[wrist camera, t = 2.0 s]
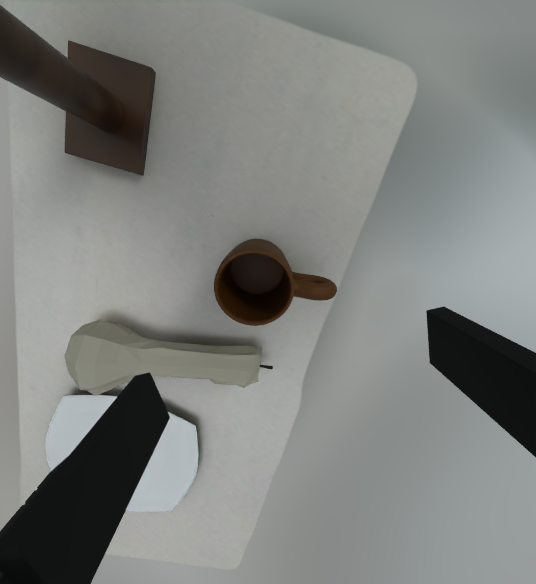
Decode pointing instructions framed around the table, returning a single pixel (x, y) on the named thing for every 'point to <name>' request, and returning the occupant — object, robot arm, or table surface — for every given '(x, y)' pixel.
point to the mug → (263, 283)
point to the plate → (161, 467)
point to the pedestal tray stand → (84, 93)
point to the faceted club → (152, 359)
